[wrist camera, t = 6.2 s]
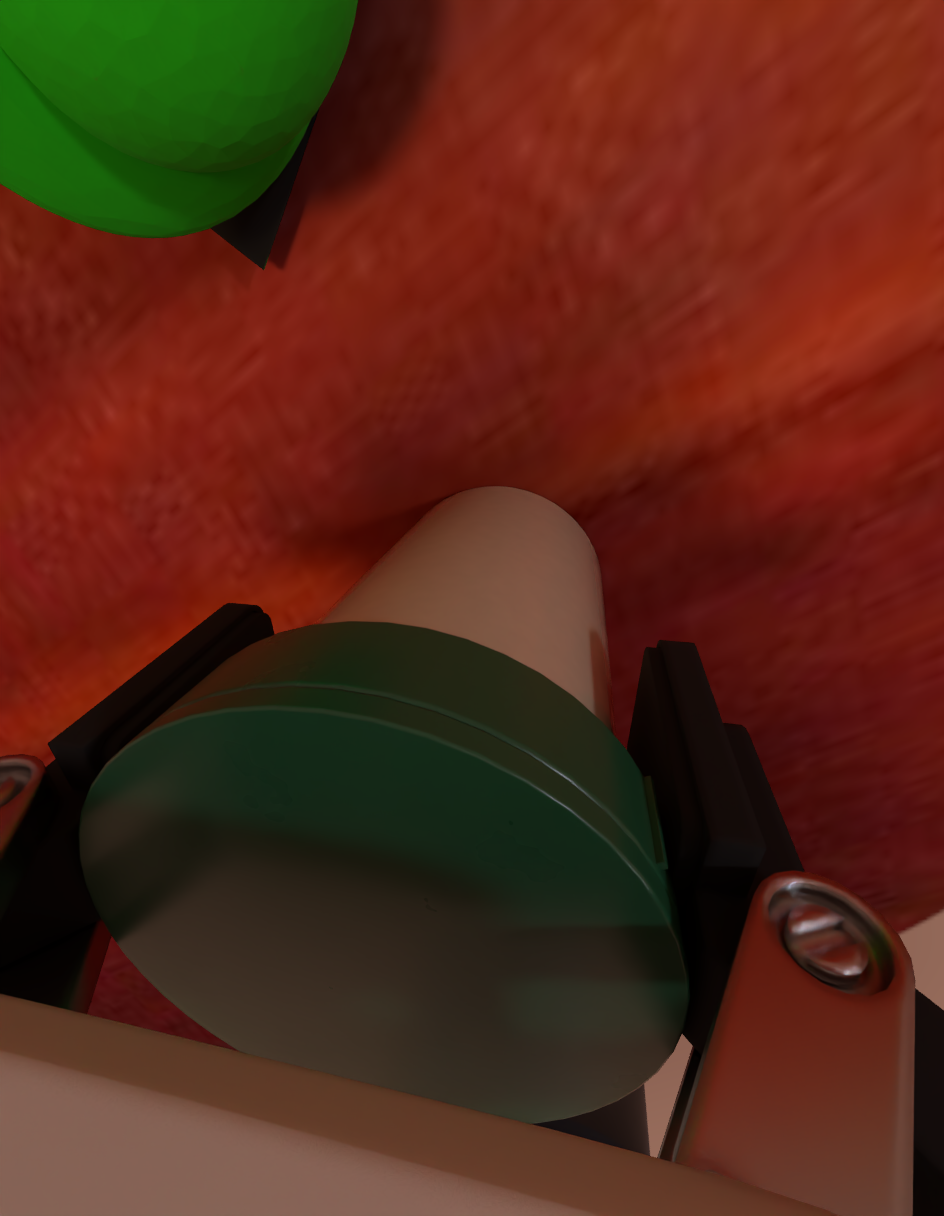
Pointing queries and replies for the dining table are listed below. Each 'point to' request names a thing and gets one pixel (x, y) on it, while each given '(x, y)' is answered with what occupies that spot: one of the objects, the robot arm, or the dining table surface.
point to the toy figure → (165, 110)
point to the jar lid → (398, 872)
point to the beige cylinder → (498, 587)
